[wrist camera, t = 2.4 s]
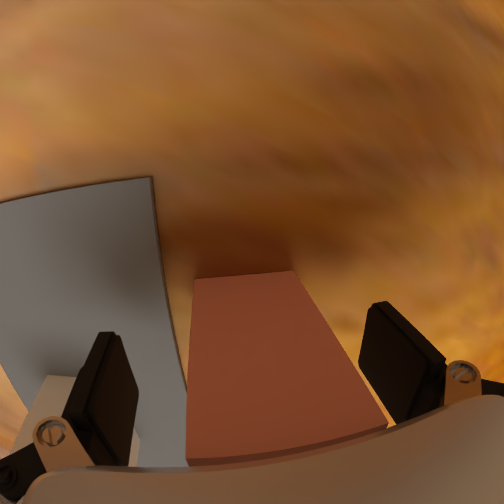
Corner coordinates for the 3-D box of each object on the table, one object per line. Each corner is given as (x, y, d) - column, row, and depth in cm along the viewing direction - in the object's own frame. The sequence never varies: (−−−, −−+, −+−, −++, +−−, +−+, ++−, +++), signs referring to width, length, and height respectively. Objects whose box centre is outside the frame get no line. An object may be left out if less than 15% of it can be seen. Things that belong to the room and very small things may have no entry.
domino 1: (111, 378, 16) (75, 524, 6) (119, 396, 16) (91, 534, 7) (47, 374, 15) (-6, 494, 6) (56, 391, 16) (12, 508, 6)
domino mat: (151, 176, 13) (149, 177, 12) (222, 505, 25) (223, 509, 24) (-45, 215, 11) (-50, 217, 11) (108, 500, 23) (107, 503, 22)
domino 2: (293, 270, 15) (388, 422, 6) (292, 297, 16) (373, 453, 7) (194, 279, 15) (185, 458, 6) (198, 306, 15) (197, 485, 6)
